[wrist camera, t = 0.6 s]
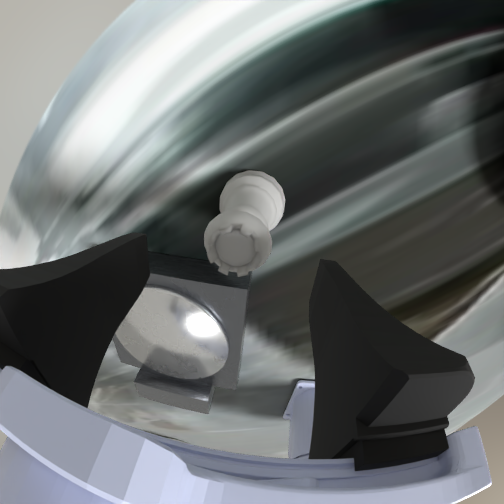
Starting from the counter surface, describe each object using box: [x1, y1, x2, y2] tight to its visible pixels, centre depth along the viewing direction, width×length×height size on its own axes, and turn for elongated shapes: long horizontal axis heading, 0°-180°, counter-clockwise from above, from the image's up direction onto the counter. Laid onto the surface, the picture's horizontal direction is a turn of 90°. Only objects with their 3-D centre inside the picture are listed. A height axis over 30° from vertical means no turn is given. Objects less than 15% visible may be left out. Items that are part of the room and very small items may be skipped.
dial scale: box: [113, 252, 252, 414], centre depth 24 cm, size 16×13×5 cm
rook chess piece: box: [204, 170, 285, 277], centre depth 16 cm, size 4×4×8 cm
